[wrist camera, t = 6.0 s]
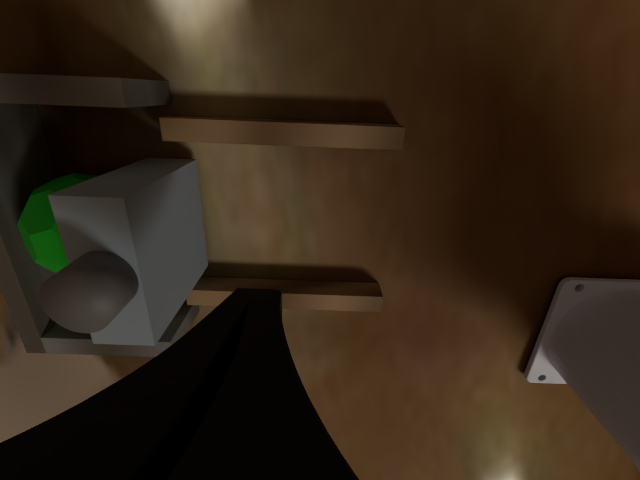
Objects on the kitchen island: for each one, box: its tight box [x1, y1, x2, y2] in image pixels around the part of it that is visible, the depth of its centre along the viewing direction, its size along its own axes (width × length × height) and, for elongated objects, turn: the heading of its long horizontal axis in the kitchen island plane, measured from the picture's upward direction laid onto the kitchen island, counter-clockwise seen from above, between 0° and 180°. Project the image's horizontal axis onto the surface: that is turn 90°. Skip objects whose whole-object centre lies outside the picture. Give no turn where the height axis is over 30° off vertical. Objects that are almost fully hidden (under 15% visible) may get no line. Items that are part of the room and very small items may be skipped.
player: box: [39, 158, 208, 346], centre depth 14 cm, size 2×6×8 cm, turn 178°
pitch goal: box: [0, 73, 406, 357], centre depth 16 cm, size 18×13×4 cm
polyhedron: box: [17, 173, 98, 273], centre depth 16 cm, size 5×5×5 cm
